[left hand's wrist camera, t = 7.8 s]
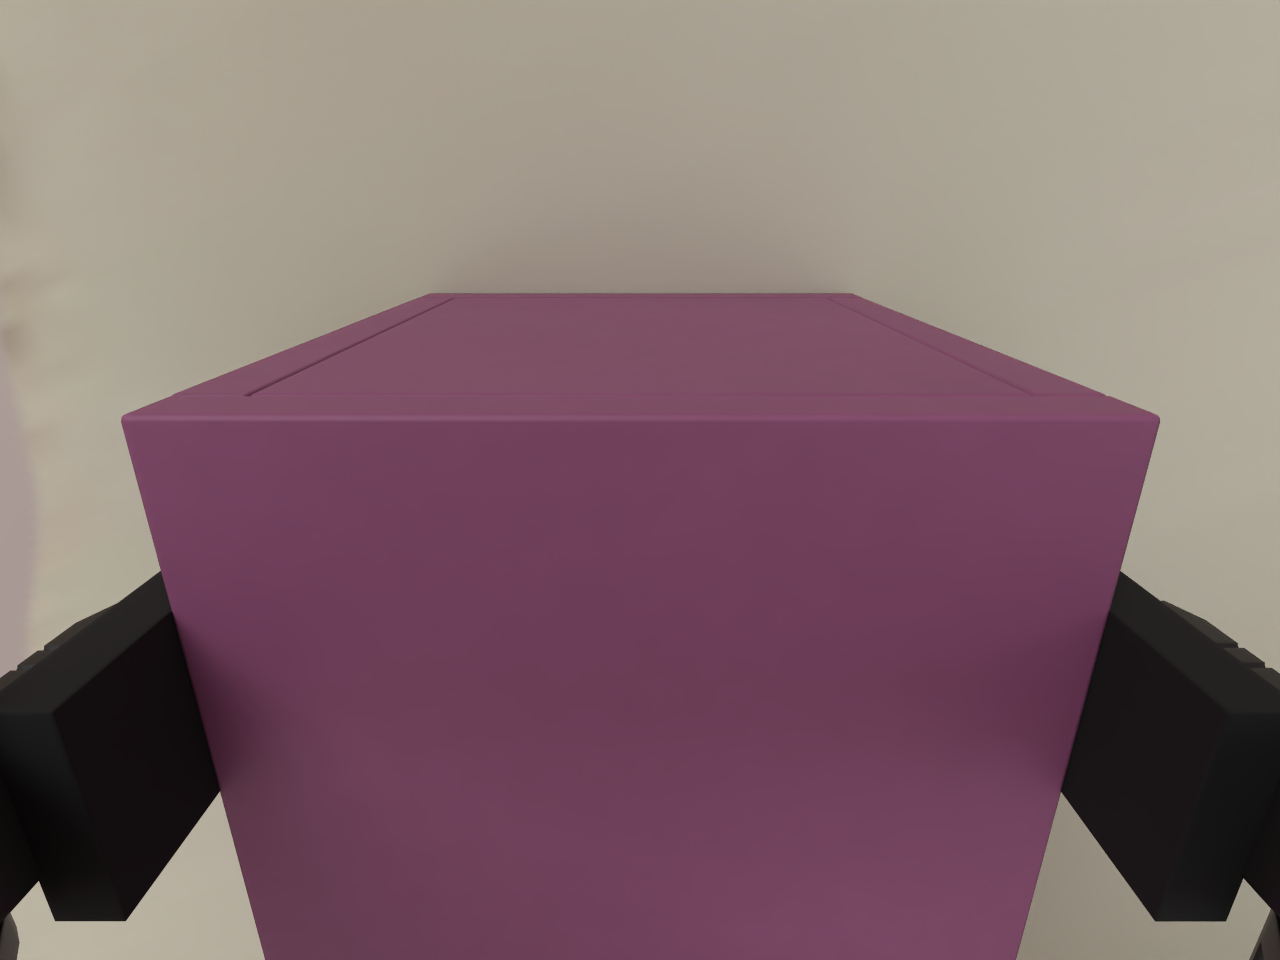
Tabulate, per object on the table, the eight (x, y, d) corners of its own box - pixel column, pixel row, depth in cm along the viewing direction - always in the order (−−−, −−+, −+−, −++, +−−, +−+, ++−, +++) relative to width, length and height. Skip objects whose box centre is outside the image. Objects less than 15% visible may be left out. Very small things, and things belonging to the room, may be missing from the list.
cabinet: (803, 778, 24) (939, 1252, 13) (477, 778, 24) (340, 1251, 13) (853, 293, 18) (1164, 415, 7) (427, 293, 18) (115, 416, 7)
